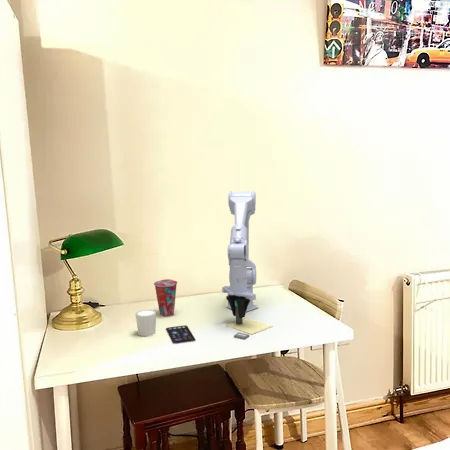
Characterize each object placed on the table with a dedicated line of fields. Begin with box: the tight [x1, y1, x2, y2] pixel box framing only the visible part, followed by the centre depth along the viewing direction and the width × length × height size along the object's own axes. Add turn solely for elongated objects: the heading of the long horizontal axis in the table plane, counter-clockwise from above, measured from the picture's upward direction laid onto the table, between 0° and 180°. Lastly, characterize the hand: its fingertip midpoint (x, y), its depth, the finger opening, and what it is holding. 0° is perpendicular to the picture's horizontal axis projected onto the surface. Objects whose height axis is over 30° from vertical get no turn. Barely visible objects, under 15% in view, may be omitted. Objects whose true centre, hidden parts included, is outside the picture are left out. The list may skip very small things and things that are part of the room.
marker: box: [234, 300, 244, 324], centre depth 173 cm, size 3×3×8 cm
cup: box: [153, 278, 178, 318], centre depth 185 cm, size 9×8×12 cm
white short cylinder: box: [135, 309, 157, 337], centre depth 167 cm, size 7×7×7 cm
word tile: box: [233, 332, 250, 340], centre depth 162 cm, size 4×3×1 cm
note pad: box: [226, 317, 273, 336], centre depth 172 cm, size 12×10×1 cm
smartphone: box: [165, 324, 197, 345], centre depth 166 cm, size 8×1×15 cm
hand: (239, 316), depth 173 cm, fingers closed on marker, 2 cm apart
